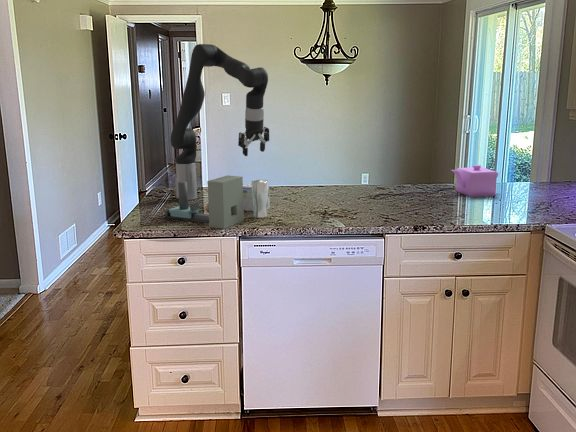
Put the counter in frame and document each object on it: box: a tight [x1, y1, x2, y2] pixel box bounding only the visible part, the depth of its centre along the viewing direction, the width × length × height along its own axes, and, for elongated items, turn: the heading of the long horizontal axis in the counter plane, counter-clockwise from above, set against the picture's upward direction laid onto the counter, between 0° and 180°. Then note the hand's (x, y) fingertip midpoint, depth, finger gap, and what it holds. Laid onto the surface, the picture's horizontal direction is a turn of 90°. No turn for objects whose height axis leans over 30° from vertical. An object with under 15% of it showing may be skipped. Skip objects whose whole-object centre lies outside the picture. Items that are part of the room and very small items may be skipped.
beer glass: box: [251, 179, 269, 219], centre depth 230 cm, size 7×7×15 cm
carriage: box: [168, 182, 200, 219], centre depth 228 cm, size 11×7×14 cm, turn 62°
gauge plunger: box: [205, 203, 209, 214], centre depth 221 cm, size 10×4×4 cm, turn 62°
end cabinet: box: [207, 174, 245, 230], centre depth 219 cm, size 8×14×18 cm, turn 152°
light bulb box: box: [243, 183, 271, 212], centre depth 243 cm, size 11×7×11 cm, turn 71°
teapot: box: [450, 164, 499, 198], centre depth 272 cm, size 15×25×14 cm, turn 99°
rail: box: [164, 207, 209, 224], centre depth 228 cm, size 25×5×3 cm, turn 62°
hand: (253, 153), depth 237 cm, fingers open, 8 cm apart
